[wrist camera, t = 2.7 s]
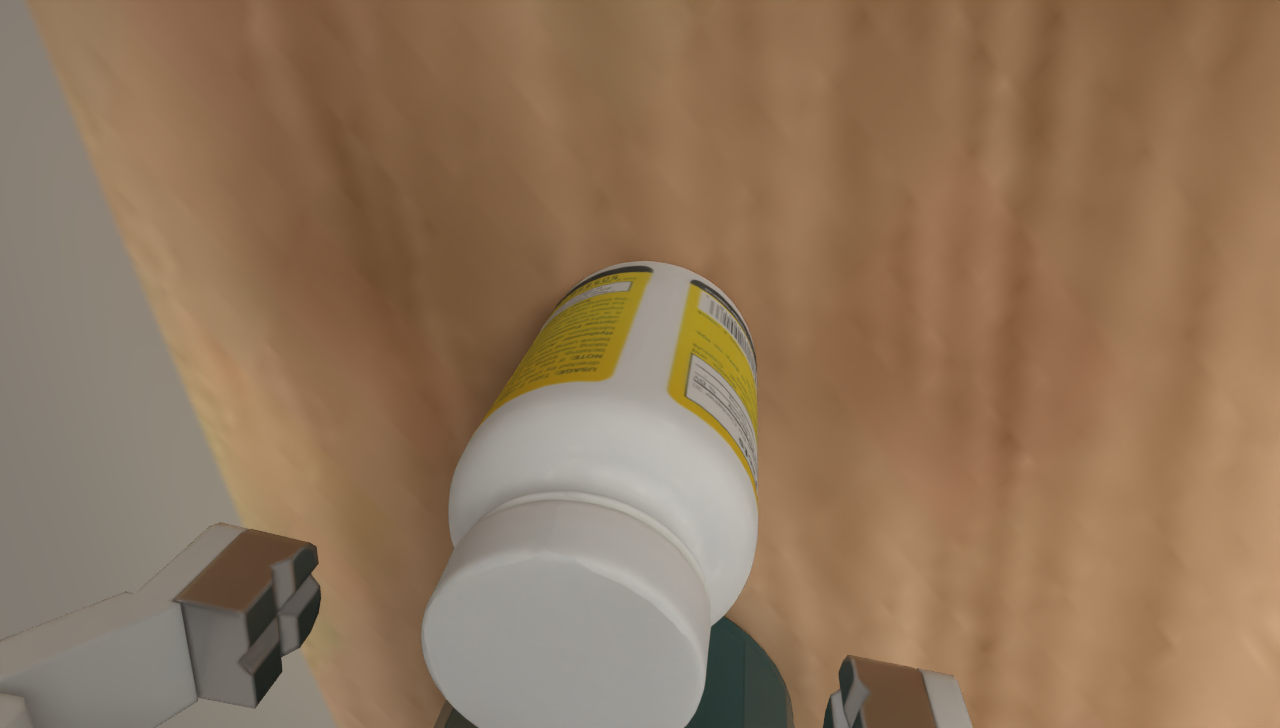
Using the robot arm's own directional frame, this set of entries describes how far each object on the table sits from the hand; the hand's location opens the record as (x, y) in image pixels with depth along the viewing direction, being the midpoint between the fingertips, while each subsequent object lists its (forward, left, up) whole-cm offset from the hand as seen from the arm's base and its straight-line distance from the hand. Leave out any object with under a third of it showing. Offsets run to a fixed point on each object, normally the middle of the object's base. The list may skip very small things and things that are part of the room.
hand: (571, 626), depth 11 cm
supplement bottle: (0, 0, -9) cm, 9 cm away
